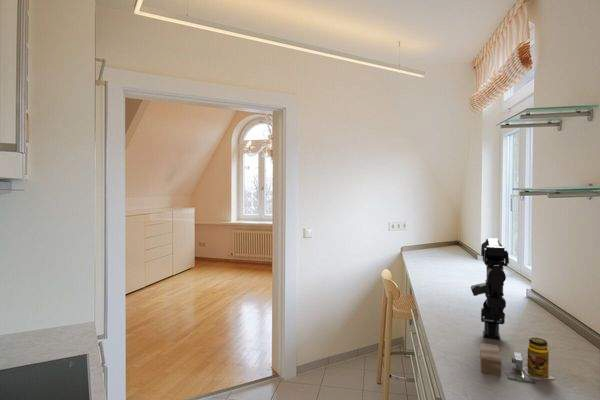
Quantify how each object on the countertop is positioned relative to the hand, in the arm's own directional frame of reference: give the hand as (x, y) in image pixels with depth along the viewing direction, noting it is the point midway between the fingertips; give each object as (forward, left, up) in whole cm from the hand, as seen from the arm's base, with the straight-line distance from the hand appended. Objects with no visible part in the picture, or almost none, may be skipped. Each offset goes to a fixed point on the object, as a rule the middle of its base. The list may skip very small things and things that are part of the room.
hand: (494, 317), depth 145 cm
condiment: (+14, +12, -13) cm, 23 cm away
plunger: (+16, +6, -12) cm, 21 cm away
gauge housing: (+14, +3, -13) cm, 20 cm away
